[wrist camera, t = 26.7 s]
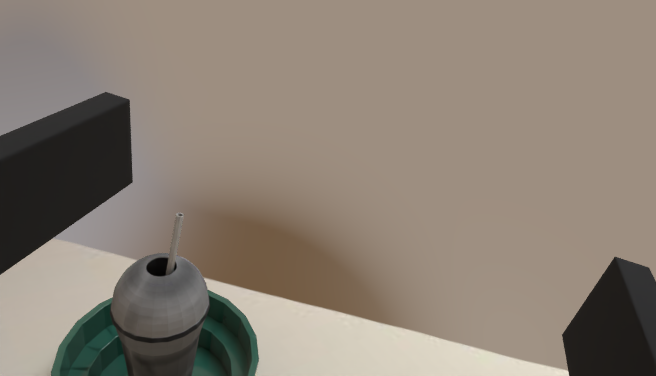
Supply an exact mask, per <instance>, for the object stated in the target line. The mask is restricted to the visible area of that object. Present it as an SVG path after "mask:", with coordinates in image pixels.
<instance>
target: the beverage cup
mask: <svg viewBox="0 0 656 376" xmlns="http://www.w3.org/2000/svg"><path fill="white" fill-rule="evenodd" d="M183 216H184V215H183V214H182V213H177V214H176V220H175V225H174V230H173V237H172V242H171V247H170V253H169V254H168V253H159V254H154V255H149V256H146V257H144V258H142V259H140V260H138V261H136V262H135V263H134V264H132V265H131V266H130V267H129V268H128V269H126V271H125V272H124V273H123V275H122V276H121V278H120V279H119V281H118V283H117V285H116V287H115V290H114V294H113V299H112V302H111V308H110V316H111V319H112V322H113V325H114V326H115V328H116V331H117V333H118V336H119V338H120V340H121V343H122V348H123V353H124V357H125V362H126V367H127V372H128V376H192V371H193V366H194V361H195V356H196V351H197V346H198V341H199V335H200V331H201V329H202V326H203V323H204V320H205V319H206V316H207V314H208V311H209V308H210V303H209V295H208V292H207V286H206V282H205V280H204V278H203V277H202V275H201V273H200V271H199V270H198V269H197V267H195V266H194V265H193V264H192V263H191V262H190V261H188V260H187V259H185V258H183V257H180V256H178V255H176V254H177V249H178V244H179V238H180V233H181V227H182V222H183Z"/></svg>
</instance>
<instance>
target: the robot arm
mask: <svg viewBox="0 0 656 376" xmlns="http://www.w3.org/2000/svg"><path fill="white" fill-rule="evenodd" d="M130 128H131V127H130V101H129V99H126V98H123V97H120V96H117V95H113V94H110V93H107V92H105V93H102V94H100V95H98V96H95V97H93V98H91V99H88V100H86V101H83V102H81V103H78V104H76V105H74V106H71V107H69V108H66V109H64V110H62V111H59V112H57V113H54V114H52V115H50V116H47V117H45V118H42V119H40V120H38V121H35V122H33V123H30V124H28V125H26V126H23V127H21V128H18V129H16V130H13V131H11V132H9V133H6V134H4V135H1V136H0V275H1V274H2V273H3V272H5V271H6V270H8V269H9V268H11V267H12V266H13V265H15V264H16V263H18V262H19V261H21V260H22V259H23V258H25V257H26V256H28V255H29V254H31V253H32V252H33V251H35V250H36V249H38V248H39V247H41V246H42V245H44V244H45V243H46V242H48V241H49V240H51V239H52V238H53V237H55V236H56V235H58V234H59V233H61V232H62V231H64V230H65V229H66V228H68V227H69V226H71V225H72V224H74V223H75V222H76V221H78V220H79V219H81V218H82V217H83V216H85V215H86V214H88V213H89V212H91V211H92V210H93V209H95V208H96V207H98V206H99V205H101V204H102V203H104V202H105V201H107V200H108V199H109V198H111V197H112V196H114V195H115V194H117V193H118V192H119V191H121V190H122V189H123V188H125V187H127V186H128V185H129V184H131V183H132V154H131V129H130ZM562 336H563V342H564V348H565V354H566V359H567V365H568V371H569V376H656V281H655V279H654V277H653V275H652V273H651V271H650V269H649V268H648V267H645V266H642V265H639V264H636V263H633V262H629V261H627V260H623V259H621V258H617V257H614V259H613V260H612V262H611V263H610V265H609V266H608V268H607V269H606V271H605V272H604V274H603V275H602V277H601V278H600V280H599V281H598V283H597V284H596V286H595V287H594V289H593V290H592V292H591V293H590V294H589V296H588V297H587V299H586V301H585V302H584V303H583V305H582V306H581V308H580V309H579V311H578V312H577V314H576V315H575V317H574V318H573V320H572V321H571V323H570V324H569V325H568V327H567V329H566V330H565V331H564V333H563V334H562Z"/></svg>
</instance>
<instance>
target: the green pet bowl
mask: <svg viewBox="0 0 656 376" xmlns="http://www.w3.org/2000/svg"><path fill="white" fill-rule="evenodd" d="M207 292H208V295H209V303H210V308H209V311H208V314H207V316H206V319H205V320H204V323H203V326H202V329H201V331H200V335H199V341H198V346H197V351H196V356H195V361H194V366H193V371H192V376H256V374H257V368H258V362H259V356H258V347H257V338H256V335H255V333H254V331H253V329H252V327H251V325H250V323H249V321H248V319H247V318H246V316H245V315H244V314H243V313H242V312H241V311H240V310H239V309H238V308H237V307H236V306H234V305H233V304H232V303H231V302H230V301H229V300H228V299H226V298H224V297H222V296H220V295H218V294H215V293H213V292H211V291H209V290H207ZM112 299H113V298H110V299H108V300H106V301H104V302H102V303H100V304H99V305H97V306H96V307H95V308H93V309H92V310H91V311H90V312H88V313H87V314H86V315H85V316H83V317H82V318H81V319H80V320H78V321H77V323H75V325H74V326H73V328H72V329H71V330H70V332H69V333H68V334H67V336H66V337H65V339H64V340H63V341H62V343H61V344H60V346H59V348H58V351H57V354H56V358H55V361H54V364H53V368H52V371H51V376H128V372H127V367H126V362H125V357H124V353H123V348H122V343H121V340H120V338H119V336H118V333H117V331H116V328H115V326H114V325H113V322H112V319H111V316H110V308H111V302H112Z"/></svg>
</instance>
